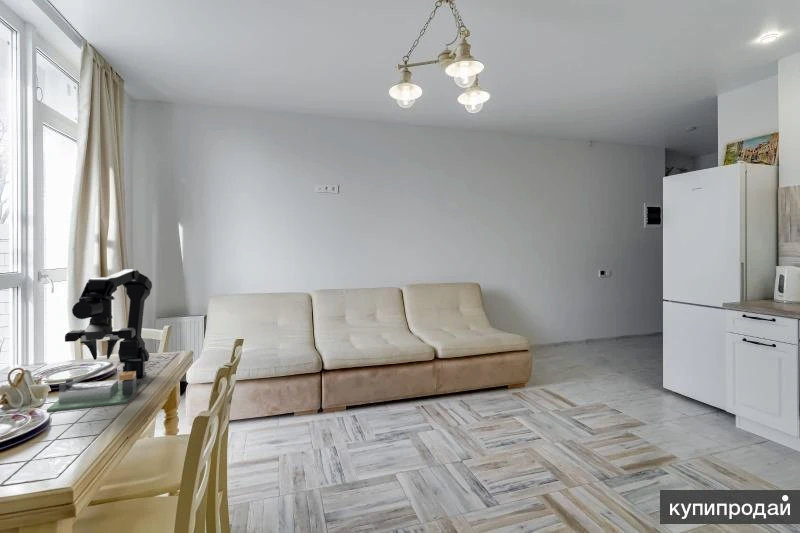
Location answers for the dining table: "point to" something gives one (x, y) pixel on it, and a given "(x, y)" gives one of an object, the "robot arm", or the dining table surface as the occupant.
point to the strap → (89, 375)
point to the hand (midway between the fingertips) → (101, 359)
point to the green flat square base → (94, 394)
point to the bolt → (127, 375)
